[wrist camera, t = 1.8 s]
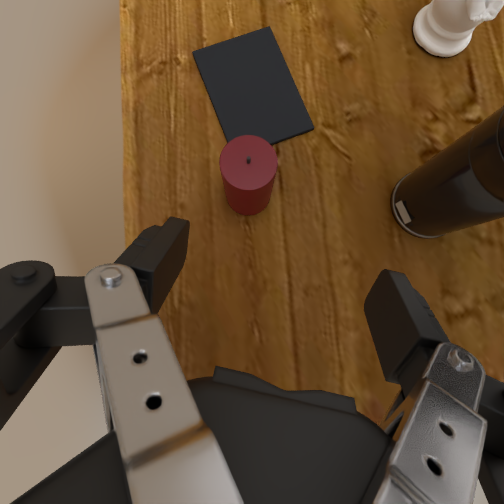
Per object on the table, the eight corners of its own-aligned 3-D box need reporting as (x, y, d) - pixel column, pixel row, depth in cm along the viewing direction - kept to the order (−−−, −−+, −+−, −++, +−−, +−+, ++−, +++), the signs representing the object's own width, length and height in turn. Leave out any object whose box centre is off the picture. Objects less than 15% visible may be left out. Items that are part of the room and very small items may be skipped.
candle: (260, 167, 41) (265, 121, 30) (276, 206, 40) (287, 174, 29) (219, 181, 40) (209, 141, 29) (235, 221, 40) (230, 195, 29)
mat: (269, 29, 43) (269, 25, 43) (313, 129, 41) (314, 127, 41) (192, 54, 43) (192, 51, 42) (234, 158, 41) (233, 156, 40)
